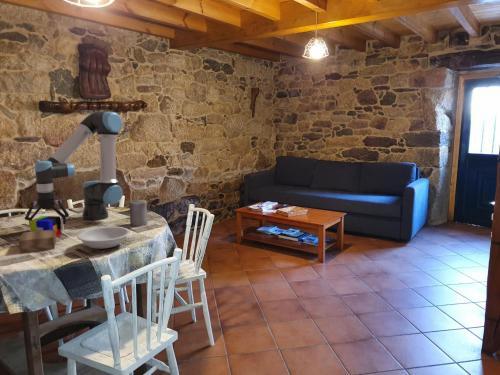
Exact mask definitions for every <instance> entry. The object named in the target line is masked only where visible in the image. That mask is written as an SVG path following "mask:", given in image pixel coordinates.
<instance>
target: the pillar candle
mask: <svg viewBox="0 0 500 375" xmlns="http://www.w3.org/2000/svg"><path fill="white" fill-rule="evenodd" d="M128 202H129V204H128V205H129V221H130V226H131V227H143V226H142V225H144V226H146V225H145V224H147V225H148V206H147V205H148V204H147V200H146V199H145V200H144V199H134V200H130V201H128Z"/></svg>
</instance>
